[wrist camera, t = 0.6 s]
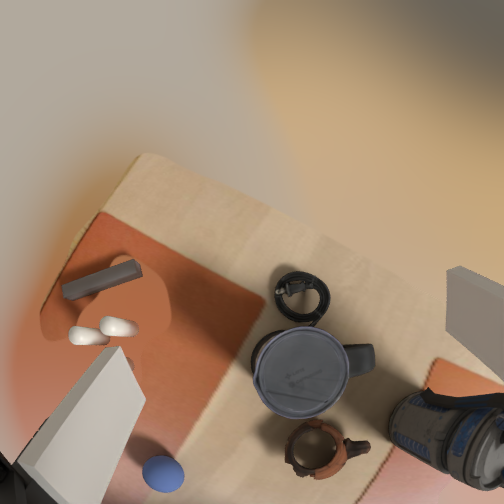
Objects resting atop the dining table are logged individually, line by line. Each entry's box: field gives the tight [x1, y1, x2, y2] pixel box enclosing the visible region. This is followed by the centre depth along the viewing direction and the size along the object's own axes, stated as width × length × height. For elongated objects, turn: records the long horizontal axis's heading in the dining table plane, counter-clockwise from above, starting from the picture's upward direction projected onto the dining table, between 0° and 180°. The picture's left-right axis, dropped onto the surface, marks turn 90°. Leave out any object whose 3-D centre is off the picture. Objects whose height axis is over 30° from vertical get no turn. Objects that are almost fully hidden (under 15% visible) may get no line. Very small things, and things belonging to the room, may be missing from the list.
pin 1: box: [69, 326, 110, 345], centre depth 36 cm, size 2×2×8 cm
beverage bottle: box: [389, 387, 504, 491], centre depth 26 cm, size 10×13×25 cm
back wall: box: [62, 259, 143, 301], centre depth 41 cm, size 2×13×3 cm, turn 110°
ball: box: [142, 455, 184, 493], centre depth 32 cm, size 6×6×6 cm
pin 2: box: [99, 316, 139, 337], centre depth 36 cm, size 2×2×8 cm
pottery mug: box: [285, 420, 371, 480], centre depth 34 cm, size 12×10×8 cm
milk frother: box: [251, 271, 375, 419], centre depth 34 cm, size 14×16×15 cm
